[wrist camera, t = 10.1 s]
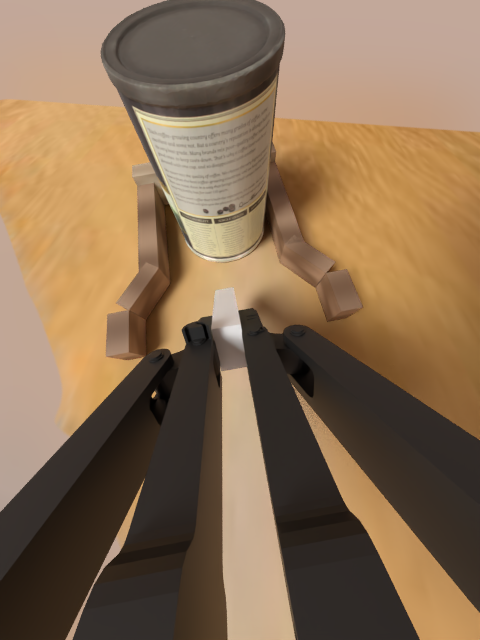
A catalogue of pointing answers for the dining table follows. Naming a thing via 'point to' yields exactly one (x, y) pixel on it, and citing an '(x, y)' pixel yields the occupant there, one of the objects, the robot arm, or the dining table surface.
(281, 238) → the brown wooden frame
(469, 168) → the dining table surface
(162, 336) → the dining table surface
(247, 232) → the coffee can
